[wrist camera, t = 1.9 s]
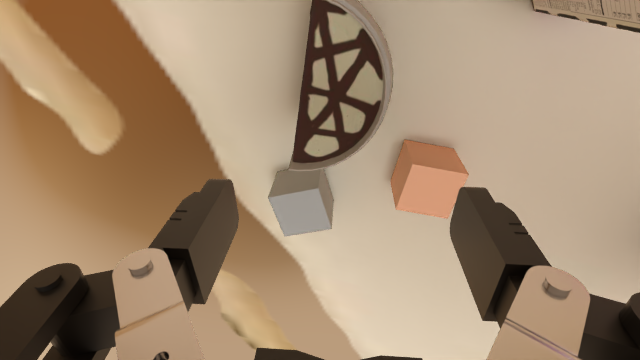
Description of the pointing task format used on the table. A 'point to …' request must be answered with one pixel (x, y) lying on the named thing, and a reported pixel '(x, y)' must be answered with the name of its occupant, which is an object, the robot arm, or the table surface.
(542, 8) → the candy bar box
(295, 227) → the slate grey block
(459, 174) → the terracotta block
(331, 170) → the table surface
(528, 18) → the table surface
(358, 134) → the food container
